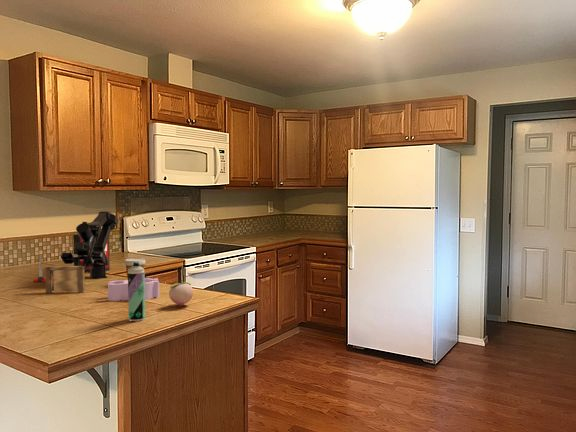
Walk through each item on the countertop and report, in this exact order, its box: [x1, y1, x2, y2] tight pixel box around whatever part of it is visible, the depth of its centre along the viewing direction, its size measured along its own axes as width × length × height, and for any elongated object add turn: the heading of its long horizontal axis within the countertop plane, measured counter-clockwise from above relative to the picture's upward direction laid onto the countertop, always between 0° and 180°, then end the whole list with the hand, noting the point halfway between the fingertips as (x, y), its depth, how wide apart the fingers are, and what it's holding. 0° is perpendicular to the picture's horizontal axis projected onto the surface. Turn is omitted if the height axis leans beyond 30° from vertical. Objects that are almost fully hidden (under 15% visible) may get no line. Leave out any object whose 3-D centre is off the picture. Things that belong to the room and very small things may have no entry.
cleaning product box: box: [72, 233, 110, 273], centre depth 257 cm, size 16×9×20 cm, turn 69°
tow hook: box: [33, 255, 54, 283], centre depth 230 cm, size 8×13×9 cm
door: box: [52, 270, 78, 293], centre depth 203 cm, size 11×2×10 cm, turn 94°
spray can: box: [127, 262, 146, 322], centre depth 161 cm, size 6×6×20 cm
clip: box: [107, 277, 160, 302], centre depth 194 cm, size 20×12×7 cm, turn 109°
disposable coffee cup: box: [124, 257, 147, 279], centre depth 219 cm, size 10×10×12 cm
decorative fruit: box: [168, 280, 194, 306], centre depth 180 cm, size 9×8×10 cm
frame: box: [44, 265, 86, 294], centre depth 203 cm, size 16×2×11 cm, turn 93°
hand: (78, 273), depth 213 cm, fingers closed
